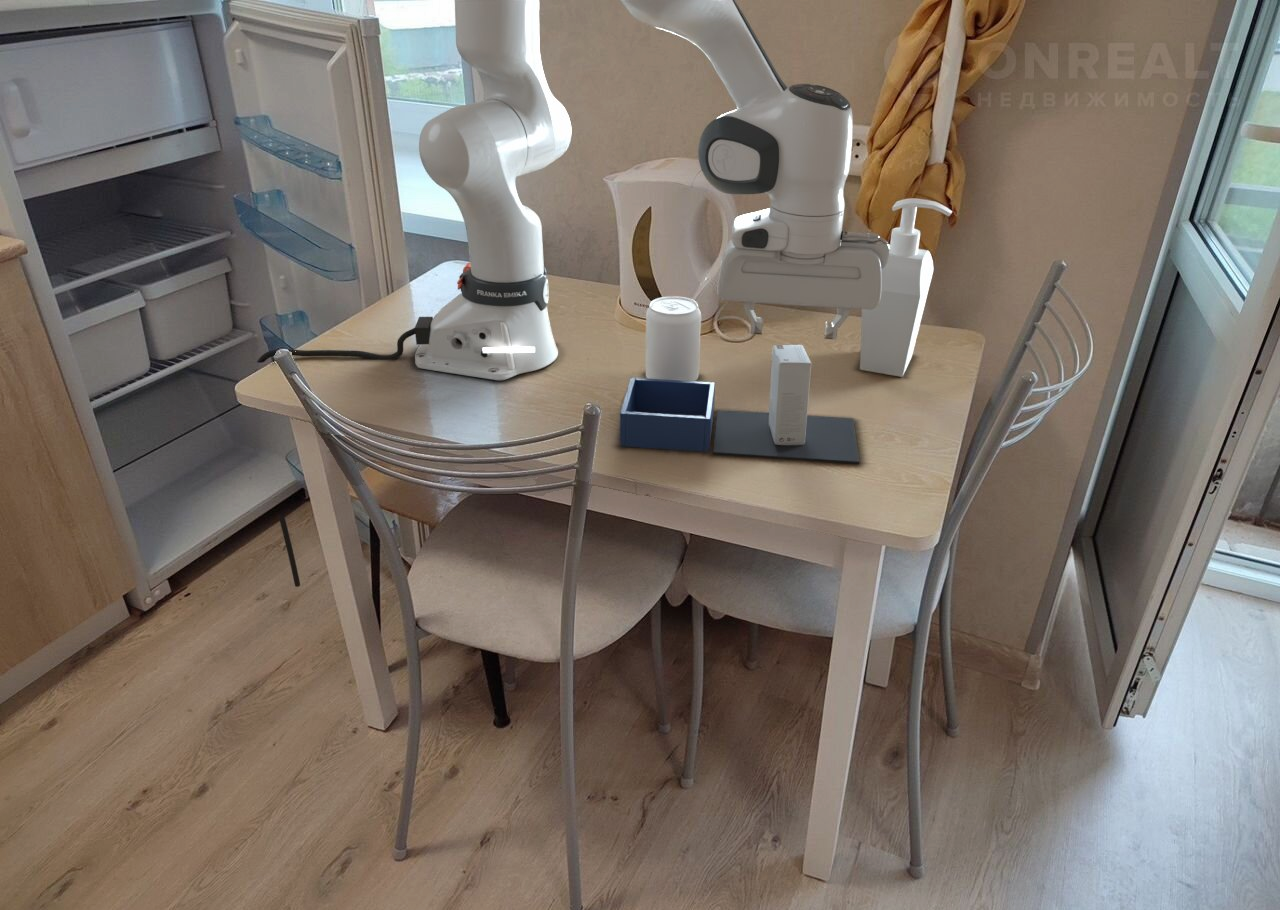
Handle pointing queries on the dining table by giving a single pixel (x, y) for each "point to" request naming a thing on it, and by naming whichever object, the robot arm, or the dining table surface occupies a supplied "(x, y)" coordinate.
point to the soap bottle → (899, 296)
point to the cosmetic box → (789, 394)
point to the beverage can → (673, 339)
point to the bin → (667, 427)
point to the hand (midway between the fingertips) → (792, 335)
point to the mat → (754, 439)
